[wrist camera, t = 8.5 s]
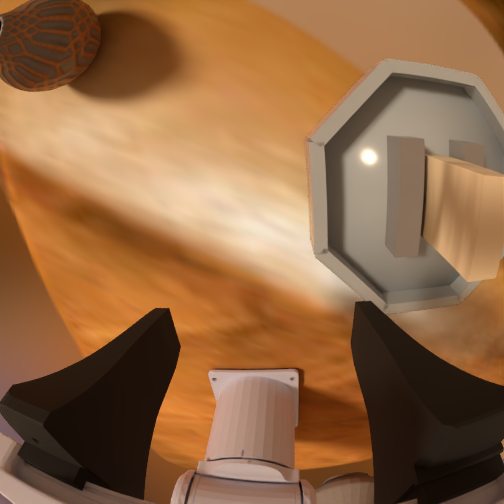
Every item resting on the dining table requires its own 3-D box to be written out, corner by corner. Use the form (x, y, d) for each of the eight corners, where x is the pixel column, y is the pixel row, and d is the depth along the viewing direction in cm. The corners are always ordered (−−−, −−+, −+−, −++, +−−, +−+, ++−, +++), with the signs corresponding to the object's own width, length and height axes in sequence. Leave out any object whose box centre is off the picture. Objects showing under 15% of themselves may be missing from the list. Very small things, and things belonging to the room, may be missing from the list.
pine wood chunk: (438, 228, 17) (495, 278, 11) (414, 229, 17) (467, 282, 11) (443, 154, 15) (512, 177, 9) (417, 153, 15) (483, 175, 9)
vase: (45, 32, 14) (-34, 21, 6) (114, -5, 13) (39, -44, 5) (48, 104, 17) (-39, 114, 9) (119, 73, 16) (29, 58, 8)
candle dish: (486, 281, 19) (503, 299, 17) (311, 299, 21) (314, 325, 19) (502, 89, 13) (526, 90, 10) (297, 64, 15) (300, 53, 12)
